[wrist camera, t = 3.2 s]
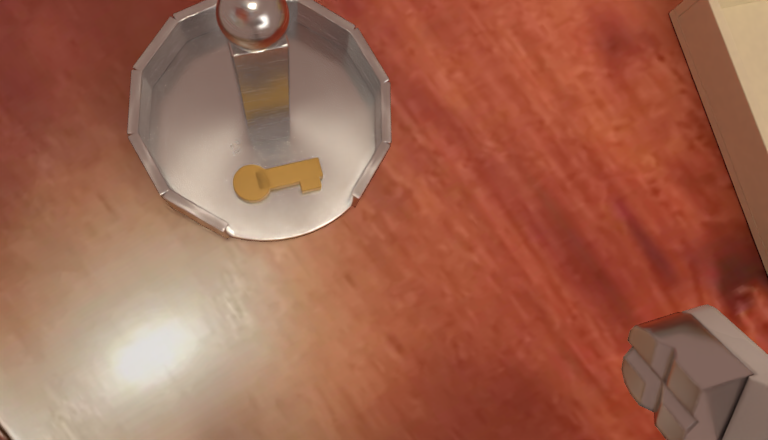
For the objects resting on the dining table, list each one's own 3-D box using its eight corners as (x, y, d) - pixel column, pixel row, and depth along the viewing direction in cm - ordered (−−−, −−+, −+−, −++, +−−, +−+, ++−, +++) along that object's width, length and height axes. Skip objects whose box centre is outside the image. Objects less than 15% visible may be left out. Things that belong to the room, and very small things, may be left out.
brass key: (239, 208, 29) (238, 206, 28) (229, 171, 29) (228, 168, 28) (325, 188, 29) (326, 185, 29) (315, 152, 30) (316, 149, 29)
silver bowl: (168, 270, 28) (82, 225, 17) (115, 36, 30) (4, -151, 18) (414, 208, 30) (487, 131, 19) (351, -5, 32) (384, -193, 21)
